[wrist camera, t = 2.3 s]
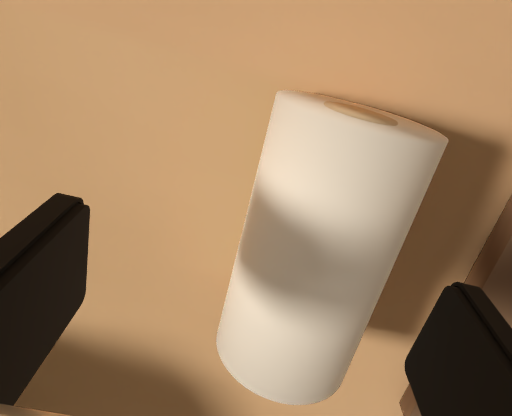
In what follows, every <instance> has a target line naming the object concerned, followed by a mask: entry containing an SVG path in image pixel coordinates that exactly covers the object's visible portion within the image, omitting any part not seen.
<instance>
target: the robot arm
mask: <svg viewBox="0 0 512 416" xmlns="http://www.w3.org/2000/svg"><path fill="white" fill-rule="evenodd" d="M89 219H90V208H89V206H88V205H84V203H83V200H82V198H79V197H74V196H70V195H65V194H61V193H56V194H55V195H53V196H52V197H51V198H50V199H48V200H47V201H46V202H45V203H43V204H42V205H41V206H40V207H38V208H37V209H36V210H35V211H33V212H32V213H31V214H30V215H28V216H27V217H26V218H25V219H24V220H22V221H21V222H20V223H19V224H17V225H16V226H15V227H14V228H12V229H11V230H10V231H9V232H7V233H6V234H5V235H4V236H2V237H1V238H0V416H71V415H65V414H59V413H53V412H47V411H41V410H35V409H29V408H23V407H17V406H13V405H14V404H15V402H16V401H17V399H18V398H19V396H20V395H21V393H22V392H23V390H24V389H25V388H26V386H27V385H28V383H29V382H30V380H31V379H32V377H33V376H34V374H35V373H36V371H37V370H38V368H39V367H40V365H41V364H42V362H43V361H44V359H45V358H46V356H47V355H48V353H49V352H50V350H51V349H52V347H53V346H54V344H55V343H56V341H57V340H58V339H59V337H60V336H61V334H62V333H63V331H64V330H65V328H66V327H67V325H68V324H69V322H70V321H71V319H72V318H73V316H74V315H75V313H76V312H77V310H78V309H79V307H80V306H81V304H82V302H83V300H84V297H85V292H86V276H87V257H88V238H89ZM405 372H406V375H407V378H408V381H409V383H410V386H411V389H412V392H413V394H414V397H415V400H416V402H417V405H418V408H419V411H420V413H421V416H512V328H511V327H510V325H509V324H508V323H507V321H506V320H505V319H504V317H503V316H502V315H501V313H500V312H499V311H498V310H497V308H496V307H495V306H494V304H493V303H492V302H491V300H490V299H489V298H488V296H487V295H486V294H485V292H484V291H483V290H482V289H481V288H480V287H478V286H473V285H469V284H464V283H460V282H455V283H453V284H452V285H451V286H447V287H445V288H444V290H443V291H442V293H441V295H440V297H439V299H438V301H437V302H436V304H435V306H434V308H433V310H432V312H431V313H430V315H429V317H428V319H427V321H426V323H425V324H424V326H423V328H422V330H421V332H420V334H419V335H418V337H417V339H416V341H415V343H414V345H413V346H412V348H411V350H410V352H409V354H408V356H407V358H406V360H405Z"/></svg>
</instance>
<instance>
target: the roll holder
mask: <svg viewBox="0 0 512 416" xmlns="http://www.w3.org/2000/svg"><path fill="white" fill-rule="evenodd" d="M464 284H469V285H473V286H478V287H480V288H481V289H482V290H483V291H484V292H485V294H486V295H487V296H488V298H489V299H490V300H491V302H492V303H493V304H494V306H495V307H496V308H497V310H498V311H499V312H500V313H501V315H502V316H503V317H504V319H505V320H506V321H507V323H508V324H509V325H510V327H511V328H512V195H511V197H510V199H509V201H508V203H507V205H506V206H505V208H504V210H503V212H502V214H501V216H500V217H499V219H498V221H497V223H496V225H495V227H494V229H493V230H492V232H491V234H490V236H489V238H488V240H487V241H486V243H485V245H484V247H483V249H482V251H481V253H480V254H479V256H478V258H477V260H476V262H475V264H474V266H473V267H472V269H471V271H470V273H469V275H468V277H467V278H466V280H465V282H464ZM399 403H400V406H401V409H402V412H403V416H421V413H420V411H419V408H418V405H417V402H416V400H415V397H414V394H413V392H412V389H411V386H410V384H409V386H408V388H407V389H406V391H405V393H404V395H403V397H402V399H401V400H400V402H399Z"/></svg>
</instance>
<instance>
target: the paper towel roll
mask: <svg viewBox="0 0 512 416" xmlns="http://www.w3.org/2000/svg"><path fill="white" fill-rule="evenodd" d="M448 141H449V140H448V138H447V137H446V136H444V135H443V134H441V133H439V132H437V131H436V130H433V129H431V128H429V127H427V126H425V125H422V124H420V123H417V122H415V121H412V120H409V119H407V118H404V117H401V116H398V115H395V114H392V113H389V112H386V111H383V110H379V109H376V108H373V107H369V106H366V105H362V104H358V103H354V102H350V101H346V100H342V99H338V98H334V97H330V96H325V95H320V94H315V93H309V92H303V91H294V90H280V91H277V93H276V97H275V101H274V105H273V109H272V113H271V117H270V121H269V125H268V129H267V133H266V137H265V141H264V145H263V149H262V154H261V158H260V162H259V166H258V170H257V174H256V178H255V182H254V186H253V190H252V194H251V198H250V202H249V206H248V210H247V214H246V218H245V222H244V226H243V230H242V235H241V239H240V243H239V247H238V251H237V255H236V259H235V263H234V267H233V271H232V275H231V279H230V283H229V287H228V291H227V295H226V299H225V303H224V307H223V312H222V316H221V320H220V324H219V328H218V332H217V339H216V342H217V349H218V353H219V356H220V358H221V360H222V362H223V364H224V366H225V367H226V369H227V370H228V371H229V372H230V374H231V375H232V376H233V377H234V378H235V379H236V380H237V381H238V382H239V383H241V384H242V385H243V386H244V387H246V388H247V389H249V390H250V391H252V392H253V393H255V394H257V395H259V396H261V397H263V398H266V399H269V400H272V401H275V402H279V403H283V404H290V405H307V404H313V403H317V402H320V401H322V400H325V399H327V398H328V397H330V396H331V395H333V394H334V393H335V392H336V391H337V390H338V388H339V387H340V385H341V383H342V381H343V379H344V376H345V374H346V372H347V370H348V367H349V365H350V363H351V361H352V358H353V356H354V354H355V351H356V349H357V347H358V345H359V342H360V340H361V338H362V336H363V333H364V331H365V329H366V327H367V324H368V322H369V320H370V318H371V315H372V313H373V311H374V309H375V306H376V304H377V302H378V300H379V297H380V295H381V293H382V290H383V288H384V286H385V284H386V281H387V279H388V277H389V275H390V272H391V270H392V268H393V266H394V263H395V261H396V259H397V257H398V254H399V252H400V250H401V248H402V245H403V243H404V241H405V239H406V236H407V234H408V232H409V229H410V227H411V225H412V223H413V220H414V218H415V216H416V214H417V211H418V209H419V207H420V205H421V202H422V200H423V198H424V196H425V193H426V191H427V189H428V187H429V184H430V182H431V180H432V177H433V175H434V173H435V171H436V168H437V166H438V164H439V162H440V159H441V157H442V155H443V153H444V150H445V148H446V146H447V144H448Z"/></svg>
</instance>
